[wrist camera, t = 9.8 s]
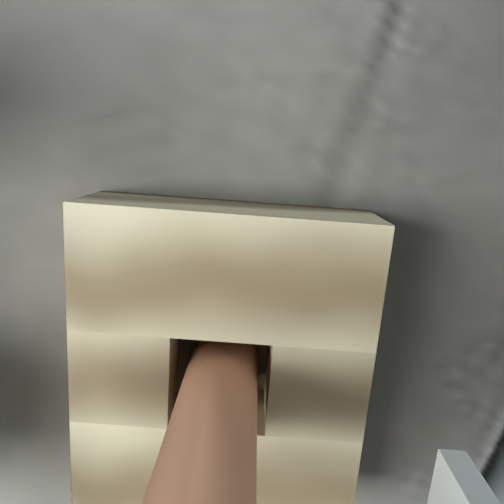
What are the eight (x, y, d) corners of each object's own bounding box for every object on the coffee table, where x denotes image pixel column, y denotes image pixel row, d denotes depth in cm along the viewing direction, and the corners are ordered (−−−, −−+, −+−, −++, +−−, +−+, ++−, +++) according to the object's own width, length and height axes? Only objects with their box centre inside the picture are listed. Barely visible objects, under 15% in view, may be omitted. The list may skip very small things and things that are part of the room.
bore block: (101, 190, 20) (62, 201, 16) (368, 210, 20) (394, 225, 16) (104, 459, 23) (72, 522, 19) (333, 475, 23) (347, 542, 19)
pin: (196, 317, 21) (112, 541, 9) (260, 322, 21) (260, 552, 9) (193, 375, 21) (113, 654, 10) (255, 380, 21) (250, 664, 10)
